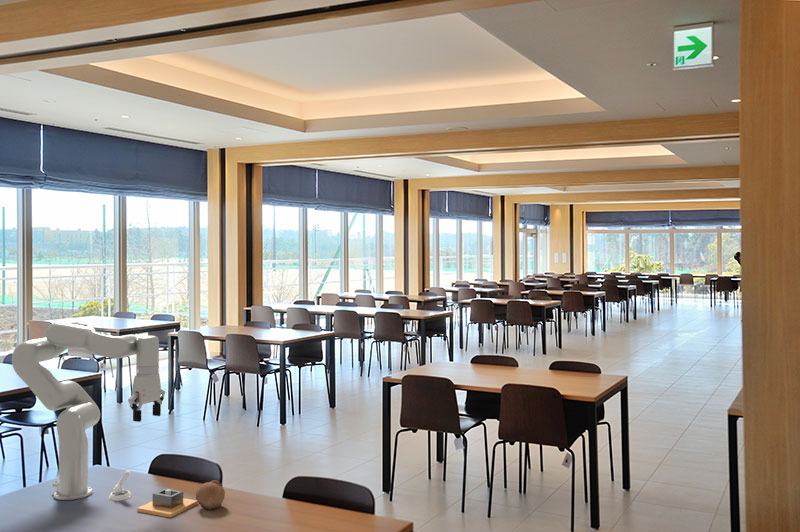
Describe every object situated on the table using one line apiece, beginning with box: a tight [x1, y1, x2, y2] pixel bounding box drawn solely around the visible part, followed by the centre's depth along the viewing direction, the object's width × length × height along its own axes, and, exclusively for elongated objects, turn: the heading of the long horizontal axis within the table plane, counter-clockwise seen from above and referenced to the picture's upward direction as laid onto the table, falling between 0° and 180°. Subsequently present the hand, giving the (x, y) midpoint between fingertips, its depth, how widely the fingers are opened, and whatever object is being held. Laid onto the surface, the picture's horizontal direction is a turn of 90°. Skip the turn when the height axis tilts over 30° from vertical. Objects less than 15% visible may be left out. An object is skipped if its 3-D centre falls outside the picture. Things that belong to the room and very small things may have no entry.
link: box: [152, 488, 184, 509], centre depth 236 cm, size 8×6×4 cm
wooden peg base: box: [136, 488, 199, 518], centre depth 236 cm, size 14×14×6 cm
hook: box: [108, 469, 133, 502], centre depth 246 cm, size 8×12×7 cm
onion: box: [195, 479, 226, 510], centre depth 236 cm, size 10×9×10 cm
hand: (147, 418), depth 245 cm, fingers open, 9 cm apart
